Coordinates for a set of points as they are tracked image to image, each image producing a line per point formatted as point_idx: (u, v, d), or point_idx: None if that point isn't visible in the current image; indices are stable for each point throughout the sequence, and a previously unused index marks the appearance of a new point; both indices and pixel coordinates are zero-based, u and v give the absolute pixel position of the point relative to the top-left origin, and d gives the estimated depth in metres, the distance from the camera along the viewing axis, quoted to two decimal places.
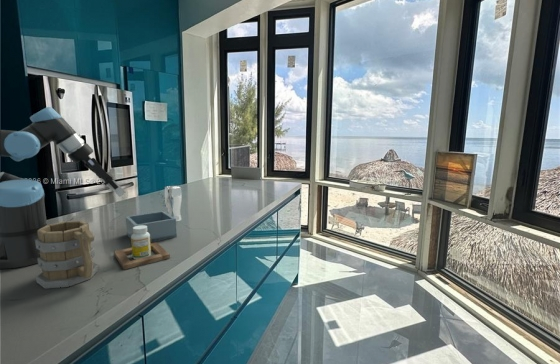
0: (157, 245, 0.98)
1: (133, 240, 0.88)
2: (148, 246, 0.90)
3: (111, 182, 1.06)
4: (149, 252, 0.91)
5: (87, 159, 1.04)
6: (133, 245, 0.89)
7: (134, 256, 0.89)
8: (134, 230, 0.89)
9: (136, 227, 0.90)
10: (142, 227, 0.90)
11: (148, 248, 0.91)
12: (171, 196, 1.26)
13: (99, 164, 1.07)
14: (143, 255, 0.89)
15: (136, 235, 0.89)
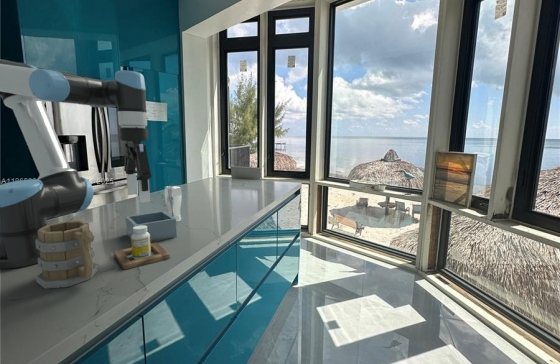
0: (157, 245, 0.98)
1: (133, 240, 0.88)
2: (148, 246, 0.90)
3: (145, 181, 0.82)
4: (149, 252, 0.91)
5: (137, 143, 0.83)
6: (133, 245, 0.89)
7: (134, 256, 0.89)
8: (134, 230, 0.89)
9: (136, 227, 0.90)
10: (142, 227, 0.90)
11: (148, 248, 0.91)
12: (171, 196, 1.26)
13: None
14: (143, 255, 0.89)
15: (136, 235, 0.89)
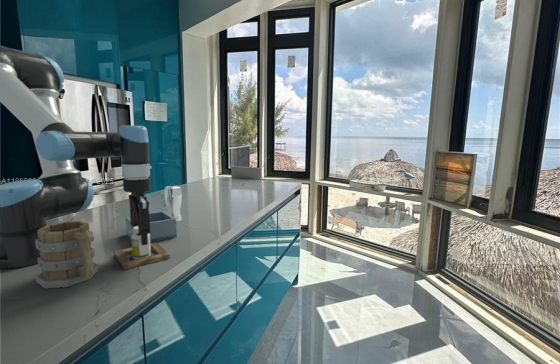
0: (157, 245, 0.98)
1: (133, 240, 0.88)
2: None
3: (144, 235, 0.87)
4: (149, 252, 0.91)
5: (140, 194, 0.86)
6: (133, 245, 0.89)
7: (134, 256, 0.89)
8: (134, 230, 0.89)
9: (136, 227, 0.90)
10: None
11: None
12: (171, 196, 1.26)
13: None
14: (143, 255, 0.89)
15: (136, 235, 0.89)
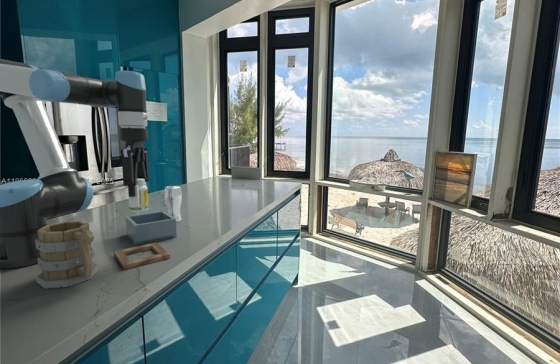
0: (157, 245, 0.98)
1: None
2: (141, 200, 0.87)
3: (130, 187, 0.84)
4: (142, 206, 0.88)
5: (128, 143, 0.83)
6: None
7: (129, 207, 0.88)
8: None
9: None
10: (138, 179, 0.87)
11: (141, 202, 0.87)
12: (171, 196, 1.26)
13: (137, 159, 0.85)
14: (134, 208, 0.87)
15: None
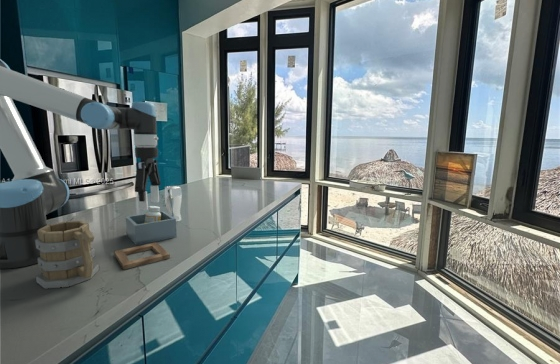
0: (157, 245, 0.98)
1: None
2: None
3: (141, 193, 1.00)
4: None
5: (142, 160, 1.02)
6: (145, 219, 1.09)
7: None
8: None
9: (152, 206, 1.10)
10: (155, 207, 1.09)
11: None
12: (171, 196, 1.26)
13: (148, 171, 1.03)
14: None
15: (148, 212, 1.08)
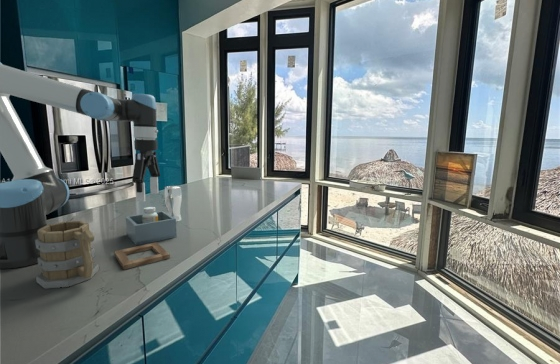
0: (157, 245, 0.98)
1: (142, 218, 1.08)
2: None
3: (138, 184, 0.99)
4: None
5: (142, 152, 1.02)
6: None
7: None
8: None
9: (147, 207, 1.09)
10: (150, 208, 1.08)
11: None
12: (171, 196, 1.26)
13: (147, 163, 1.03)
14: None
15: (144, 214, 1.08)
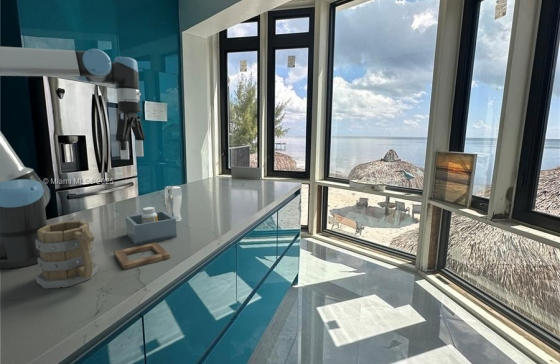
0: (157, 245, 0.98)
1: (142, 218, 1.07)
2: None
3: (122, 142, 1.05)
4: None
5: (125, 113, 1.07)
6: (142, 222, 1.08)
7: None
8: (143, 210, 1.08)
9: (146, 208, 1.09)
10: (149, 208, 1.08)
11: None
12: (171, 196, 1.26)
13: (130, 123, 1.08)
14: None
15: (143, 214, 1.07)
